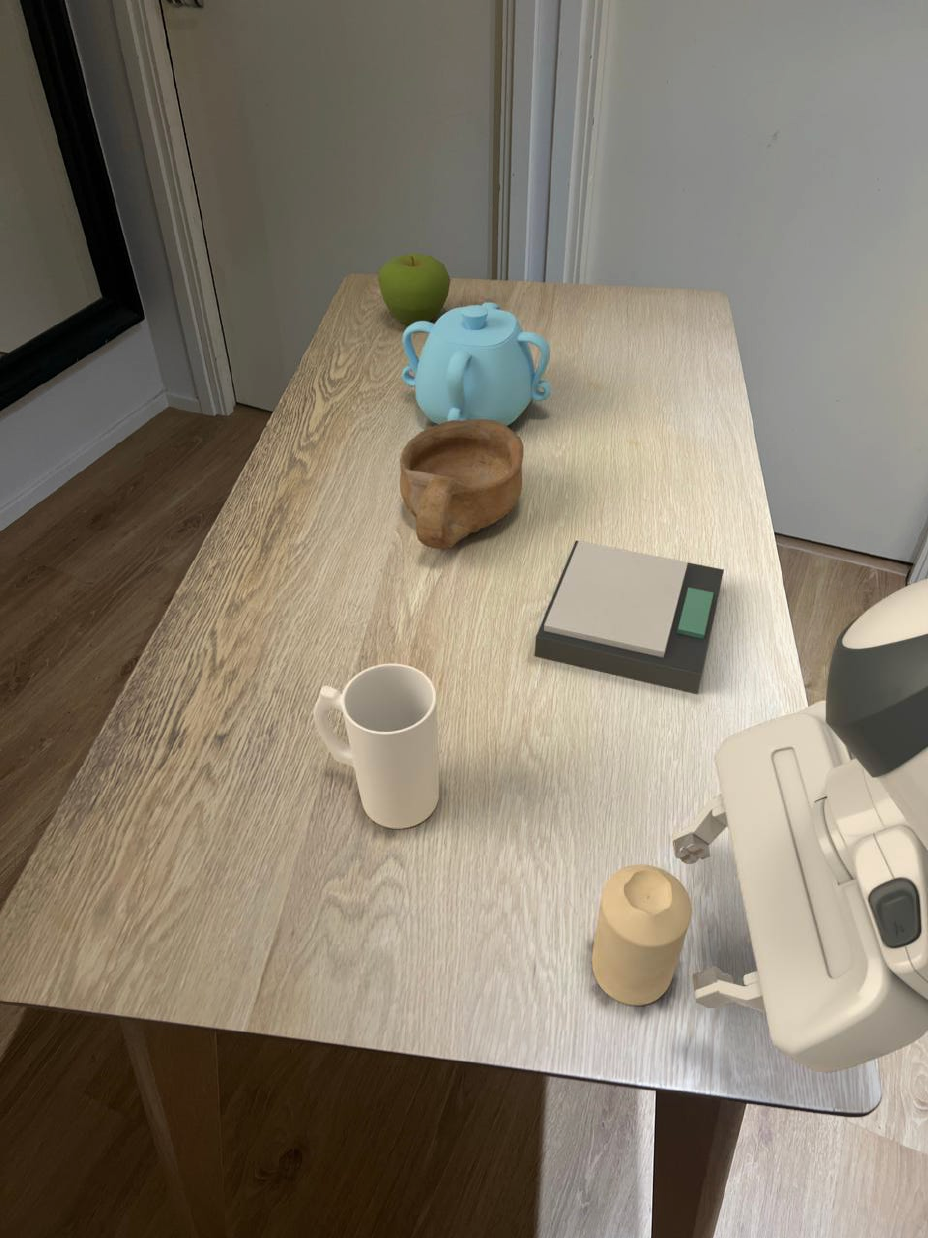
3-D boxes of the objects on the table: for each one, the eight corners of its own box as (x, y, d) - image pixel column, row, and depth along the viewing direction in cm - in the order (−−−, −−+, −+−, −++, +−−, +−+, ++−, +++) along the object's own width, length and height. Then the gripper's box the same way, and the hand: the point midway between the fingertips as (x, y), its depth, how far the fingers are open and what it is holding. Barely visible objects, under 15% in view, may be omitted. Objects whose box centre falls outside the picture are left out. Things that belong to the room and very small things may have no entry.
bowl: (537, 564, 90) (511, 485, 83) (407, 589, 93) (373, 515, 87) (537, 464, 103) (515, 389, 96) (423, 490, 106) (394, 419, 100)
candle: (672, 1012, 58) (697, 940, 52) (588, 1000, 59) (601, 927, 52) (671, 934, 62) (694, 857, 56) (593, 924, 63) (605, 846, 56)
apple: (441, 340, 130) (438, 273, 123) (372, 334, 132) (366, 267, 125) (458, 309, 137) (457, 244, 130) (393, 303, 139) (388, 239, 132)
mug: (455, 776, 73) (450, 677, 64) (422, 843, 68) (413, 745, 60) (345, 743, 75) (328, 643, 67) (307, 805, 71) (283, 706, 63)
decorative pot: (560, 427, 112) (567, 324, 102) (442, 456, 107) (438, 351, 98) (506, 371, 123) (508, 273, 113) (396, 394, 118) (389, 295, 109)
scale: (719, 588, 89) (725, 562, 87) (697, 694, 79) (703, 668, 76) (574, 558, 93) (576, 533, 91) (534, 656, 83) (535, 630, 80)
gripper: (821, 663, 54) (639, 759, 61) (936, 998, 39) (678, 1073, 46) (873, 713, 57) (694, 799, 64) (1000, 1043, 42) (748, 1108, 49)
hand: (688, 917), depth 55 cm, fingers open, 8 cm apart
